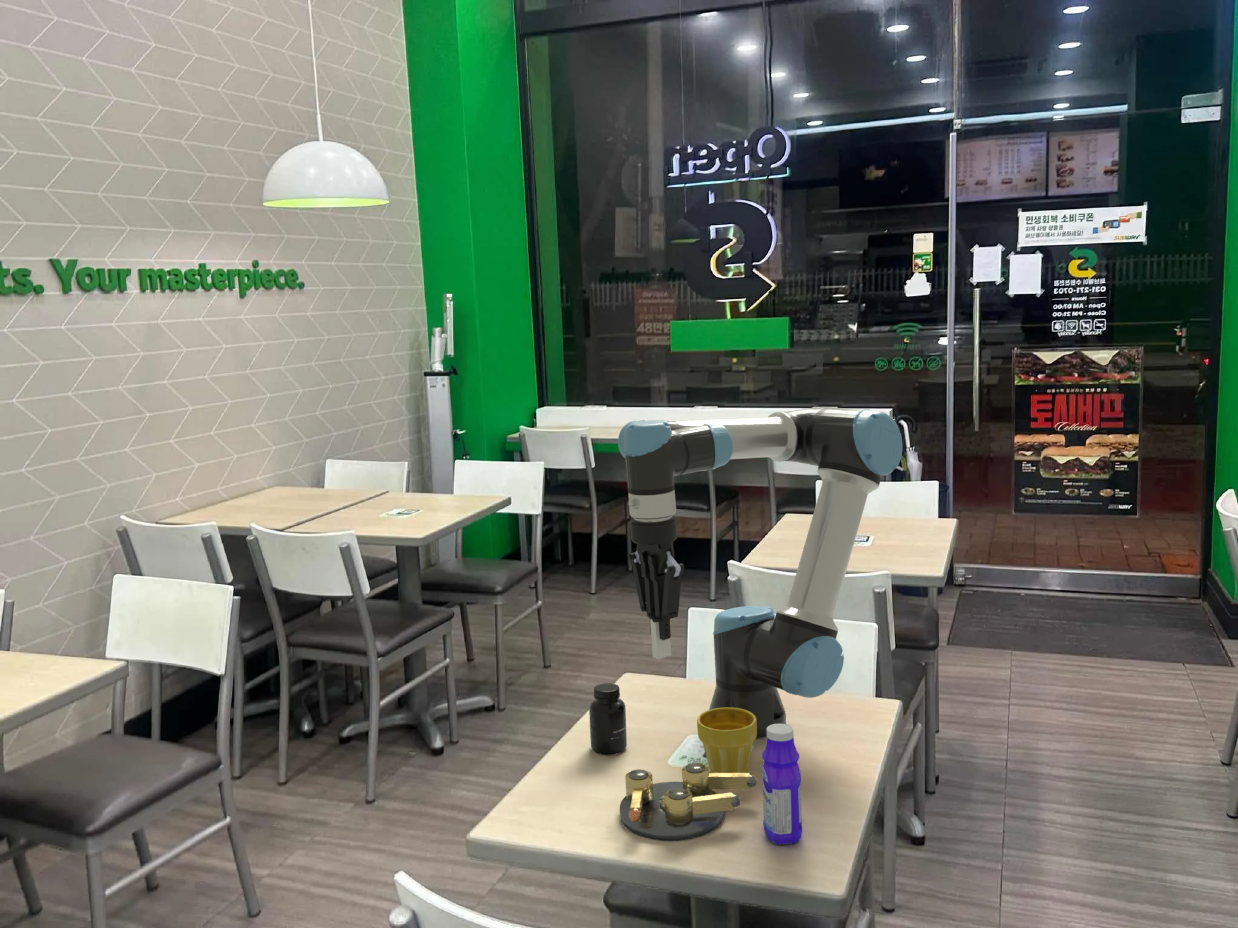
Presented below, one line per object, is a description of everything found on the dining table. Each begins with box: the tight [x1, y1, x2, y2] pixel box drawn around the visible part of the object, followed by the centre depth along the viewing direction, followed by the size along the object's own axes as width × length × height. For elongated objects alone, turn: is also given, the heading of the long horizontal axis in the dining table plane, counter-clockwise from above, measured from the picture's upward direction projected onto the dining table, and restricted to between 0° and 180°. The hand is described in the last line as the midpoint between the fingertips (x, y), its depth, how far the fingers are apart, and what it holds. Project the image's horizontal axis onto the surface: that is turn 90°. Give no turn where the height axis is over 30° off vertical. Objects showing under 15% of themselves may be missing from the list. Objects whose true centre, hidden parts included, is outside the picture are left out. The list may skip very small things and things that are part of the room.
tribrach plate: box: [619, 781, 726, 842], centre depth 167 cm, size 17×17×3 cm
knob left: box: [681, 762, 758, 796], centre depth 170 cm, size 12×4×4 cm, turn 84°
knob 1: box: [624, 768, 654, 822], centre depth 165 cm, size 12×4×4 cm, turn 175°
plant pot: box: [696, 707, 757, 773], centre depth 181 cm, size 10×10×10 cm
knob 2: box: [664, 788, 742, 824], centre depth 162 cm, size 12×4×4 cm, turn 99°
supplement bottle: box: [588, 682, 628, 756], centre depth 193 cm, size 7×7×12 cm
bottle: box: [761, 723, 803, 845], centre depth 158 cm, size 7×6×17 cm
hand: (662, 656), depth 170 cm, fingers closed
